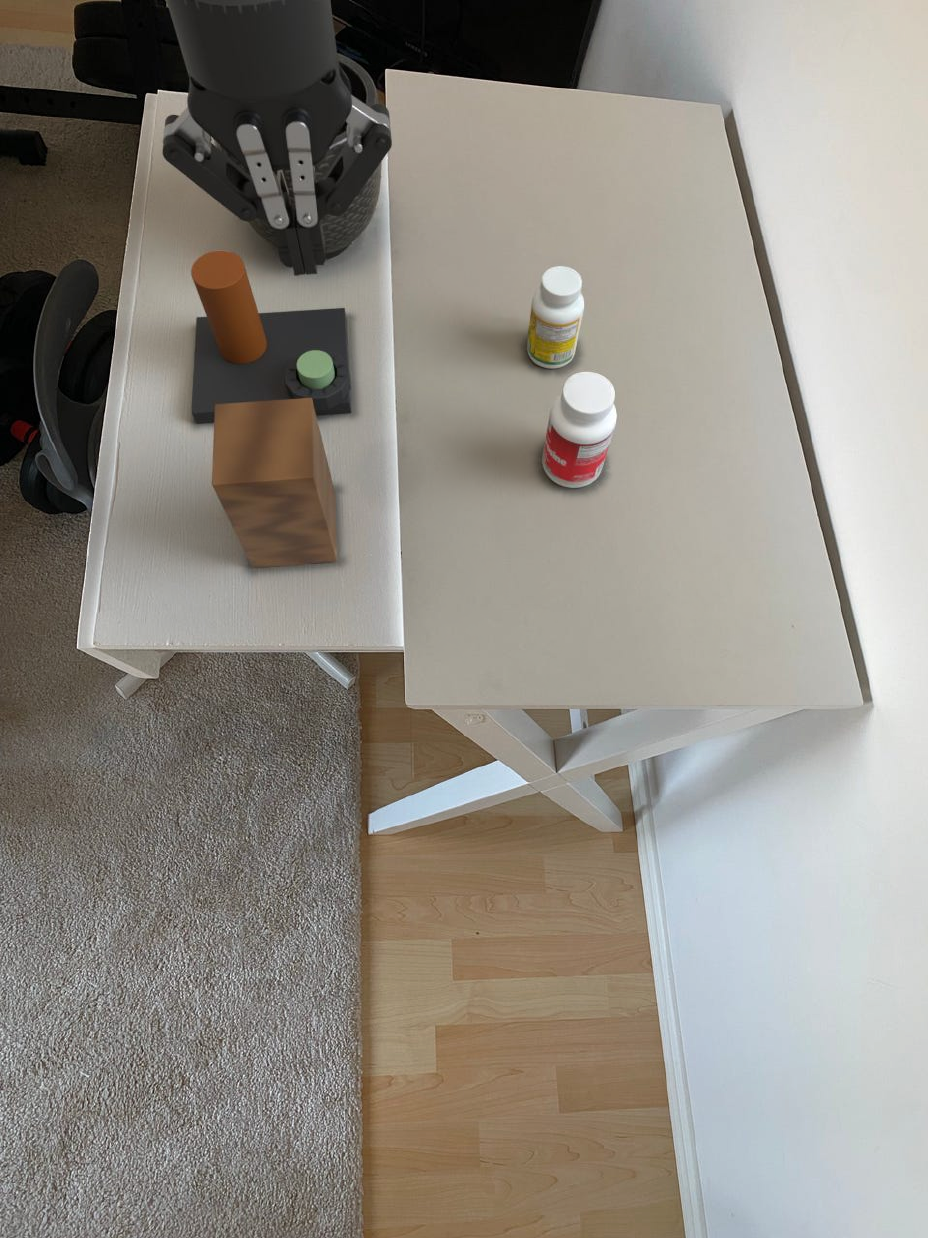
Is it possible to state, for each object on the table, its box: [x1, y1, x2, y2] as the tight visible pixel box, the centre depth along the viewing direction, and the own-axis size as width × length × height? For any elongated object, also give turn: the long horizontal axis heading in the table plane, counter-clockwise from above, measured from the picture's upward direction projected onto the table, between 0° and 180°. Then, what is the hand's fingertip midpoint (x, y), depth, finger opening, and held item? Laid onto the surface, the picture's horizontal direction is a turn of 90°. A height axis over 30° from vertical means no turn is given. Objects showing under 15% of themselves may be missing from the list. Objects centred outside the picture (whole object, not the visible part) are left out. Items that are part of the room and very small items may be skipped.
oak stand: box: [211, 398, 338, 569], centre depth 70 cm, size 8×8×14 cm
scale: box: [191, 307, 352, 425], centre depth 83 cm, size 16×14×4 cm
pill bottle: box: [541, 371, 618, 489], centre depth 75 cm, size 6×6×11 cm
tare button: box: [297, 350, 335, 389], centre depth 79 cm, size 4×4×2 cm
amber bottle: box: [190, 250, 267, 364], centre depth 79 cm, size 5×5×10 cm
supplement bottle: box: [526, 265, 585, 369], centre depth 82 cm, size 5×5×10 cm
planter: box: [212, 52, 383, 261], centre depth 85 cm, size 17×17×16 cm
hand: (305, 265), depth 51 cm, fingers closed
